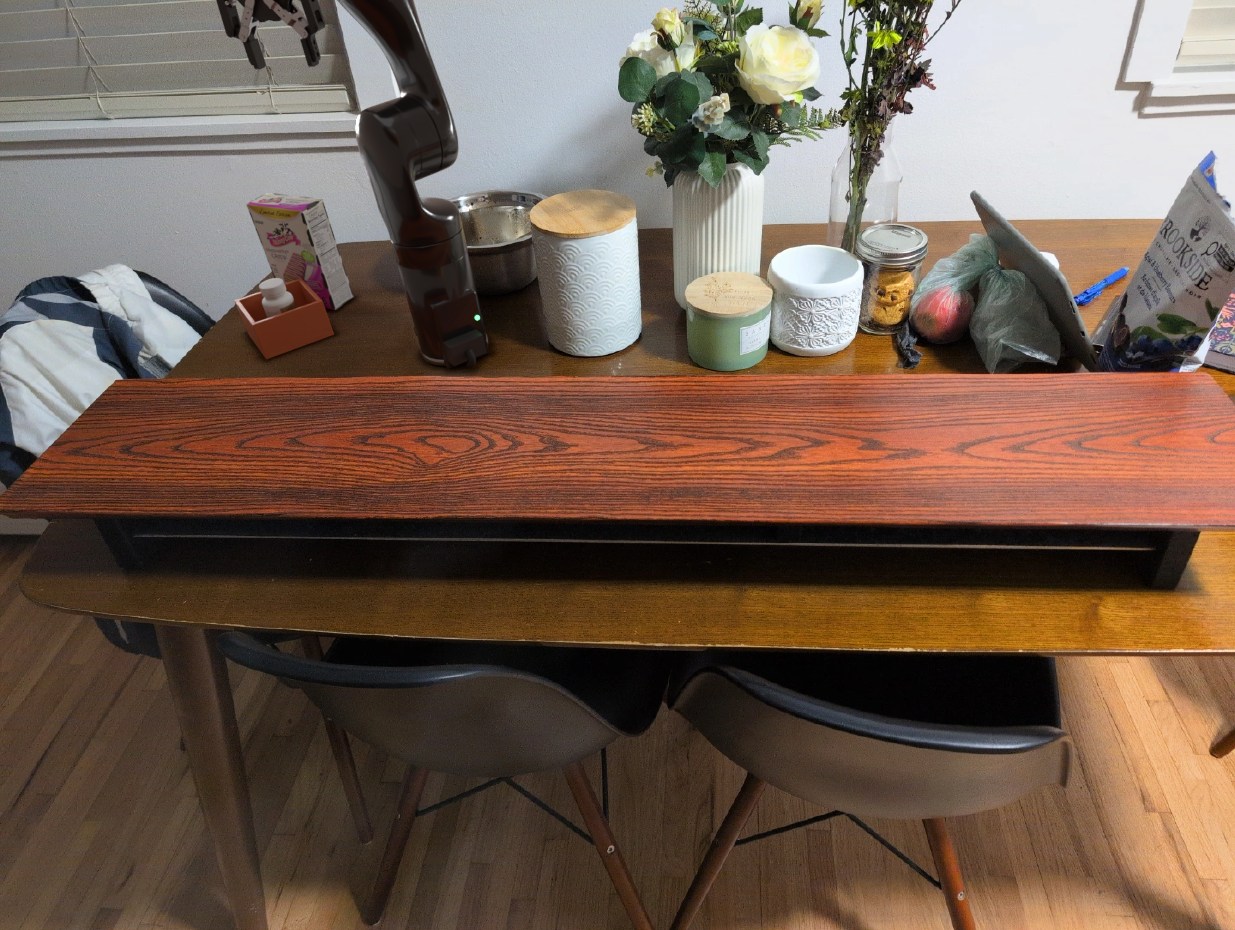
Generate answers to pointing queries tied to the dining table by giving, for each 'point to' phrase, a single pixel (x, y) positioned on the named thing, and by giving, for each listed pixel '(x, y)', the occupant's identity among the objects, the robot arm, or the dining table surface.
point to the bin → (285, 321)
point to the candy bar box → (301, 245)
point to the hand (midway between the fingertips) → (287, 66)
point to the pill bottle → (276, 297)
